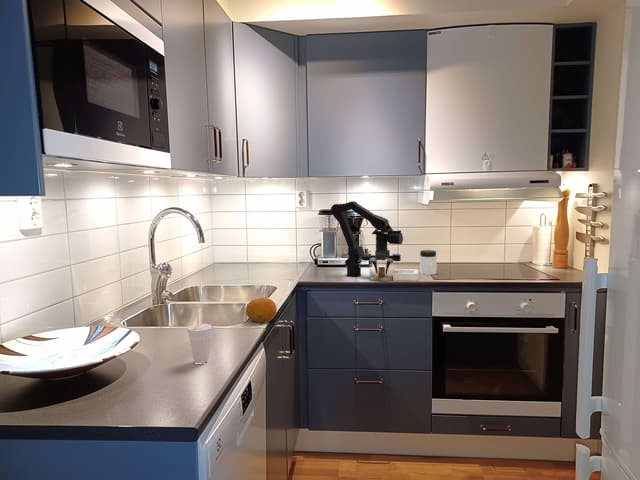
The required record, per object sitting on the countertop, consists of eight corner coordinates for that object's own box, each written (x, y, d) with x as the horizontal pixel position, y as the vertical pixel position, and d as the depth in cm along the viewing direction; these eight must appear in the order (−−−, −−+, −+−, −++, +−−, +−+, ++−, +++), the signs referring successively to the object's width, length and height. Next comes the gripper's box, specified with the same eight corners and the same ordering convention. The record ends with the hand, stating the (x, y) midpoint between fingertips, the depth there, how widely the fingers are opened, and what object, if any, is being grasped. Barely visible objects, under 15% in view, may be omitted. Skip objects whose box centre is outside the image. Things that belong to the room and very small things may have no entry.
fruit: (265, 314, 167) (265, 293, 166) (282, 320, 159) (281, 298, 158) (240, 320, 161) (240, 298, 160) (256, 327, 152) (255, 303, 152)
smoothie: (183, 364, 120) (181, 313, 119) (198, 356, 126) (196, 307, 125) (204, 367, 118) (201, 315, 116) (218, 359, 124) (215, 309, 122)
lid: (370, 280, 224) (370, 269, 224) (372, 275, 235) (372, 265, 234) (391, 280, 222) (391, 269, 222) (392, 276, 232) (392, 265, 232)
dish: (393, 281, 222) (393, 273, 222) (394, 276, 234) (394, 268, 234) (418, 282, 220) (418, 273, 219) (418, 277, 231) (418, 269, 231)
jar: (427, 275, 235) (428, 252, 234) (416, 273, 242) (416, 251, 241) (439, 273, 240) (440, 251, 239) (428, 271, 247) (428, 249, 245)
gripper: (361, 245, 221) (361, 276, 222) (399, 245, 217) (399, 277, 218) (363, 242, 231) (363, 272, 233) (400, 242, 227) (400, 273, 229)
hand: (381, 274), depth 228 cm, fingers open, 4 cm apart
